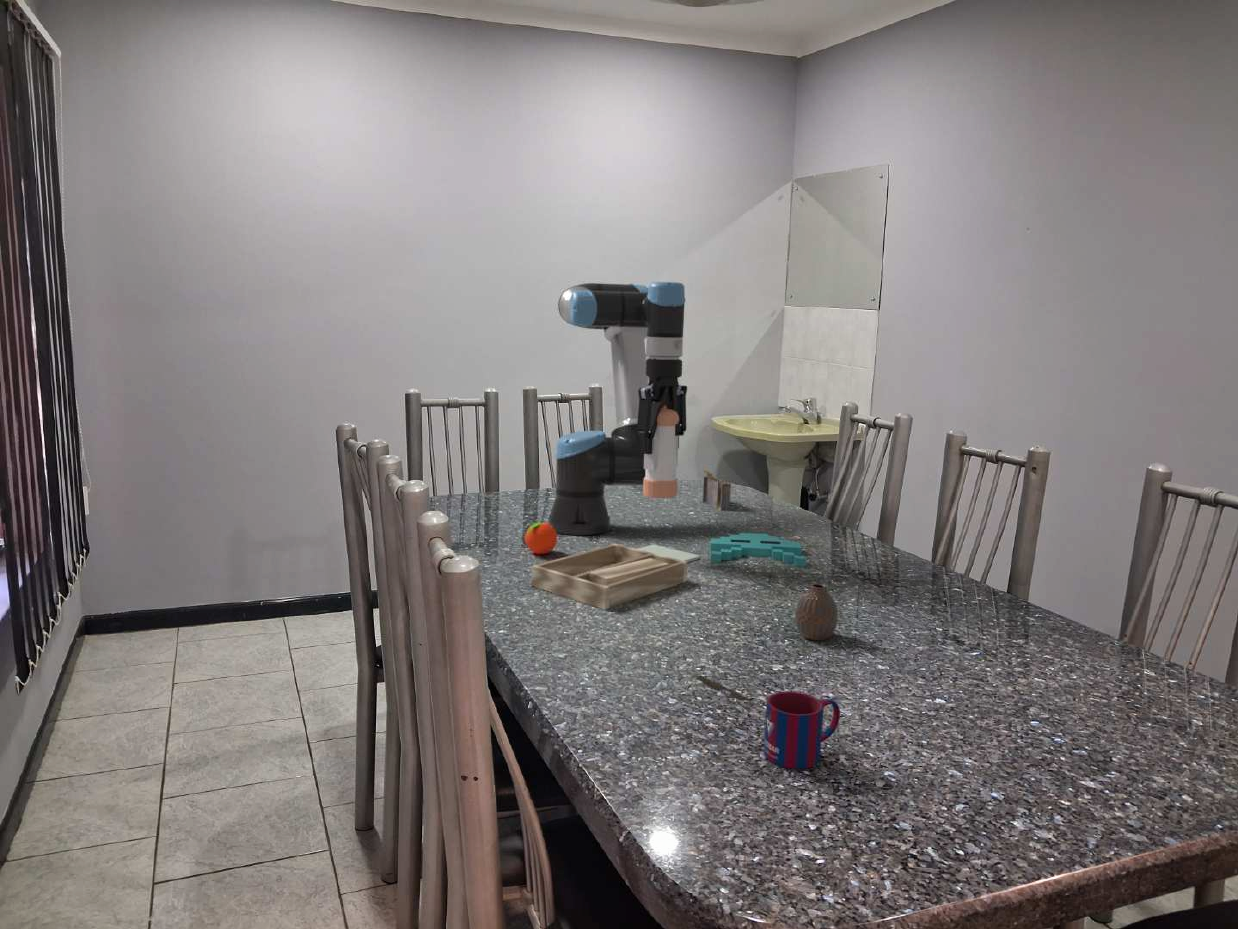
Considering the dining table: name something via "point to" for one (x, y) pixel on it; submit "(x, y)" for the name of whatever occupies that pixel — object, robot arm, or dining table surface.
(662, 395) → the robot arm
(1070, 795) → the dining table surface
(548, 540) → the clementine
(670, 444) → the salt shaker
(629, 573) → the upper offcut
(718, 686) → the thin brown sliver
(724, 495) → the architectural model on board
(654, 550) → the mat
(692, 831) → the dining table surface
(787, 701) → the mug
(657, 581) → the rack
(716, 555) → the alien figure
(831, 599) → the vase
